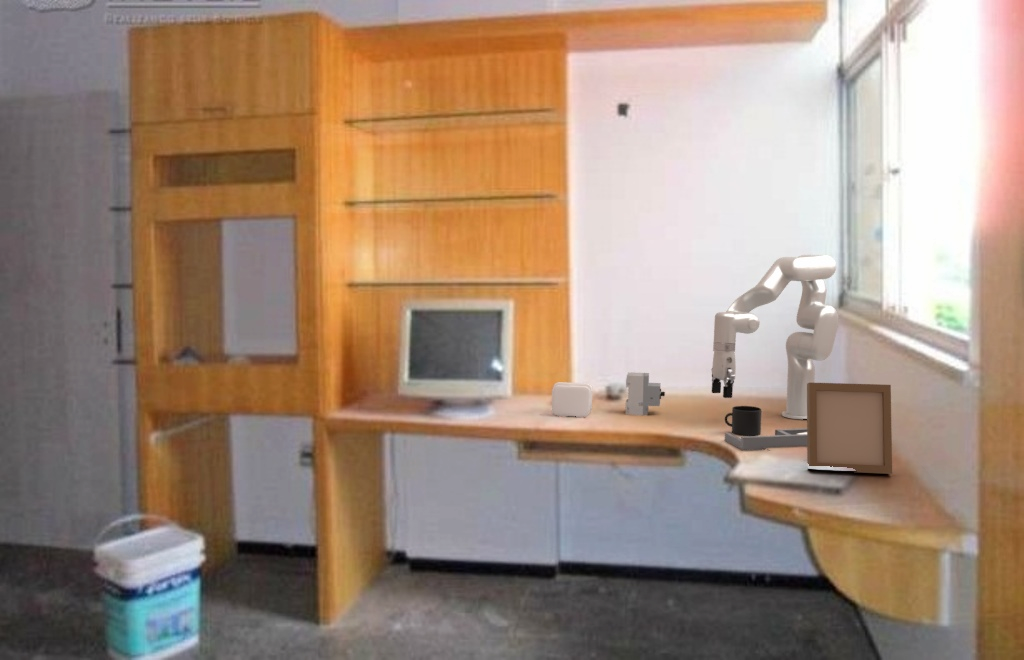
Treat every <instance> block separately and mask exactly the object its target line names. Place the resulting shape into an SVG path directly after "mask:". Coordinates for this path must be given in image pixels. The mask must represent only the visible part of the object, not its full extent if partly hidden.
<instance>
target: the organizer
mask: <svg viewBox="0 0 1024 660" xmlns="http://www.w3.org/2000/svg"><path fill="white" fill-rule="evenodd" d="M804 432H807V427H805V428H803V427H802V428H781V429H774V434H773V435H758V436H740V437H738V435H735V434H733V433H732V432H725V433H724V441H725V442H727V443H728V444H730V445H732V446H734V447H736V448H737V447H738V448H737V449H739V448H740V449H739V450H741V451H743V450H744V451H759V450H760V451H762V449H769V448H771V449H773V448H795V447H807V434H798V433H804ZM796 434H798V435H796Z"/></svg>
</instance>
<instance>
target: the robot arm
mask: <svg viewBox="0 0 1024 660" xmlns="http://www.w3.org/2000/svg"><path fill="white" fill-rule="evenodd" d="M836 270H837V263H836V261H835V259H834V258H833V257H831V256H829V255H827V254H825V255H824V254H822V255H821V254H802V255H799V256H797V257H796V256H795V257H794V256H793V257H792V256H783V257H780V258H777V259H776V260H775V261H774V262H773V264H772V265H771V266H770V268H769V269H768V270H767V271H766V272H765V274H764V275H763V276H762V278H761V279H760V281H759V282H758V283H757V284H756V285H755V286H754V287H752V288H750V289H749V290H747V291H746V292H744V293H743V294H741V295H739V297H738V298H736V299H735V300H734V301H733V302H732V303H731V305H730V306H729V307H728V309H727V310H726V311H725V312H723V311H721V312H717V313H715V315H714V323H713V325H714V326H713V327H714V328H713V346H712V347H713V348H712V351H713V358H712V368H711V393H712V394H720V393H721V390H722V389H723V391H722V393H723V394H722V397H723V398H724V399H732V398H733V388H734V383H735V379H736V367H737V366H736V354H735V353H736V341H737V340H736V338H737V334H738V333H740V334H746V335H747V334H753V333H755V332H756V331H757V330H758V329H759V327H760V324H761V323H760V319H759V317H758V316H757V315H756V314H754V313H752V312H751V311H754V310H755V309H757V308H758V307H763V306H765V305H768V304H770V303H772V302H773V303H774V301H776V300H777V299H778V297H779V296H780V295H781V294H782V292H783V291H784V290H785V288H787V286H788V285H789V283H790V282H800V283H801V286H802V287H801V288H802V292H801V296H800V301H799V305H798V309H797V312H796V323H797V325H798V327H801V328H802V329H806V330H813V333H811V332H806V331H795V332H793V333H791V334H789V336H788V337H787V339H786V341H785V351H786V356H787V378H786V379H787V380H786V381H787V382H786V406H785V407H786V409H785V410H784V411H781V416H782V417H785V418H788V419H792V420H803V419H807V384H808V383H815V378H816V377H815V375H816V373H815V372H816V368H815V364H814V361H816V362H817V361H818V362H819V361H821V362H822V361H824V360H827V359H828V358H829V356H830V355H831V354H832V351H833V348H834V344H835V339H836V336H837V331H838V327H839V322H840V321H839V320H840V317H839V313H838V311H837V310H836V308H835V307H833V306H832V305H829V304H828V305H827V304H826V299H827V298H826V297H827V286H826V283H825V281H824V280H827V279H828V280H829V278H832V276H833V275H834V274H835V273H836ZM722 381H723V384H724V385H723V388H722Z"/></svg>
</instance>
